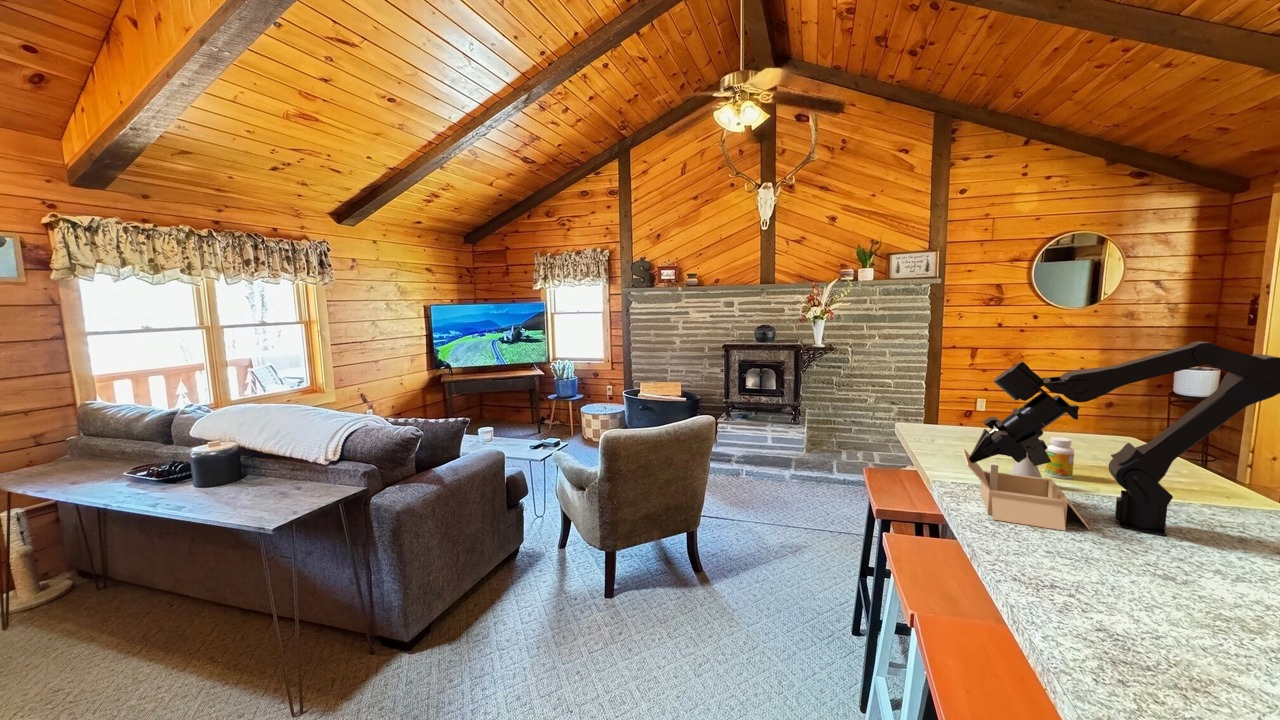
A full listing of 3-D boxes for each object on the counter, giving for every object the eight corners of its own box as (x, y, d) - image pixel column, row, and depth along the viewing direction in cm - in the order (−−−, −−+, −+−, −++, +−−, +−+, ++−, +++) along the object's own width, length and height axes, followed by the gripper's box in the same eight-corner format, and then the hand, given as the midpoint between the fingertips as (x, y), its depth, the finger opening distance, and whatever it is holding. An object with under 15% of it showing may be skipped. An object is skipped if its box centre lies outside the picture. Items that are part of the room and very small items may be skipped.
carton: (1067, 498, 112) (1068, 476, 111) (1095, 536, 94) (1097, 510, 93) (978, 486, 120) (979, 466, 119) (989, 519, 102) (990, 495, 101)
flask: (1052, 489, 118) (1055, 448, 116) (1021, 489, 118) (1024, 449, 117) (1028, 478, 125) (1031, 440, 124) (999, 479, 125) (1002, 440, 124)
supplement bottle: (1040, 474, 127) (1042, 437, 126) (1051, 470, 130) (1054, 434, 129) (1065, 480, 123) (1068, 442, 122) (1076, 477, 125) (1079, 439, 124)
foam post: (995, 493, 115) (997, 463, 115) (996, 495, 114) (998, 465, 113) (988, 492, 116) (990, 462, 115) (989, 494, 115) (991, 464, 114)
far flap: (982, 469, 116) (963, 448, 118) (990, 488, 104) (968, 464, 106) (981, 470, 116) (961, 448, 118) (988, 489, 104) (966, 465, 106)
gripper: (1080, 457, 95) (1007, 504, 101) (1056, 434, 111) (995, 475, 117) (1029, 414, 98) (962, 462, 104) (1013, 398, 114) (956, 440, 120)
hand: (970, 461), depth 111 cm, fingers closed, pressing on far flap
